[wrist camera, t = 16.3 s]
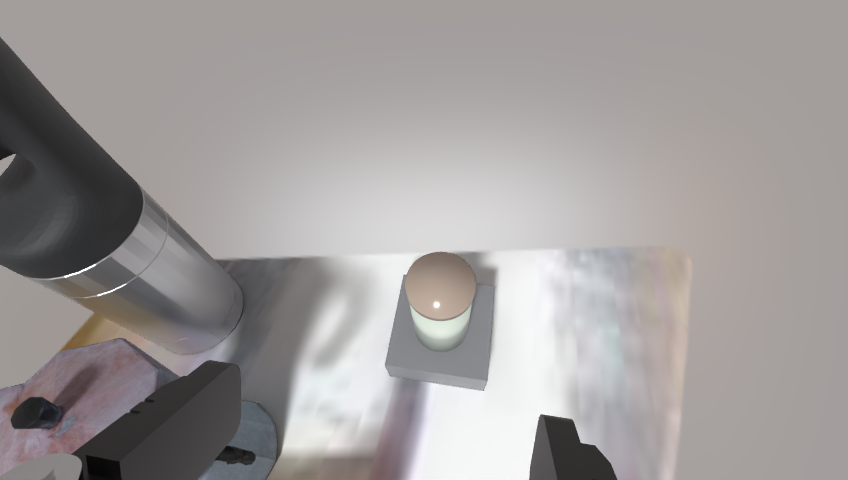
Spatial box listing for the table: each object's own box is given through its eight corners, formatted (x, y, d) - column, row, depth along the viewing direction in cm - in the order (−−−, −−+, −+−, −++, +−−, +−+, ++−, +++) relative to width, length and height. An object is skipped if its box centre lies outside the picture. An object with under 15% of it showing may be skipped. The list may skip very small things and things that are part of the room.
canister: (408, 348, 36) (399, 310, 29) (417, 295, 39) (411, 248, 31) (466, 357, 36) (472, 320, 28) (471, 302, 38) (478, 256, 31)
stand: (390, 376, 39) (384, 365, 36) (406, 291, 44) (403, 274, 40) (483, 390, 38) (487, 380, 35) (490, 302, 43) (494, 286, 39)
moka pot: (175, 388, 39) (-29, 310, 22) (329, 402, 38) (238, 332, 21) (128, 504, 34) (-179, 518, 17) (304, 526, 33) (158, 564, 16)
